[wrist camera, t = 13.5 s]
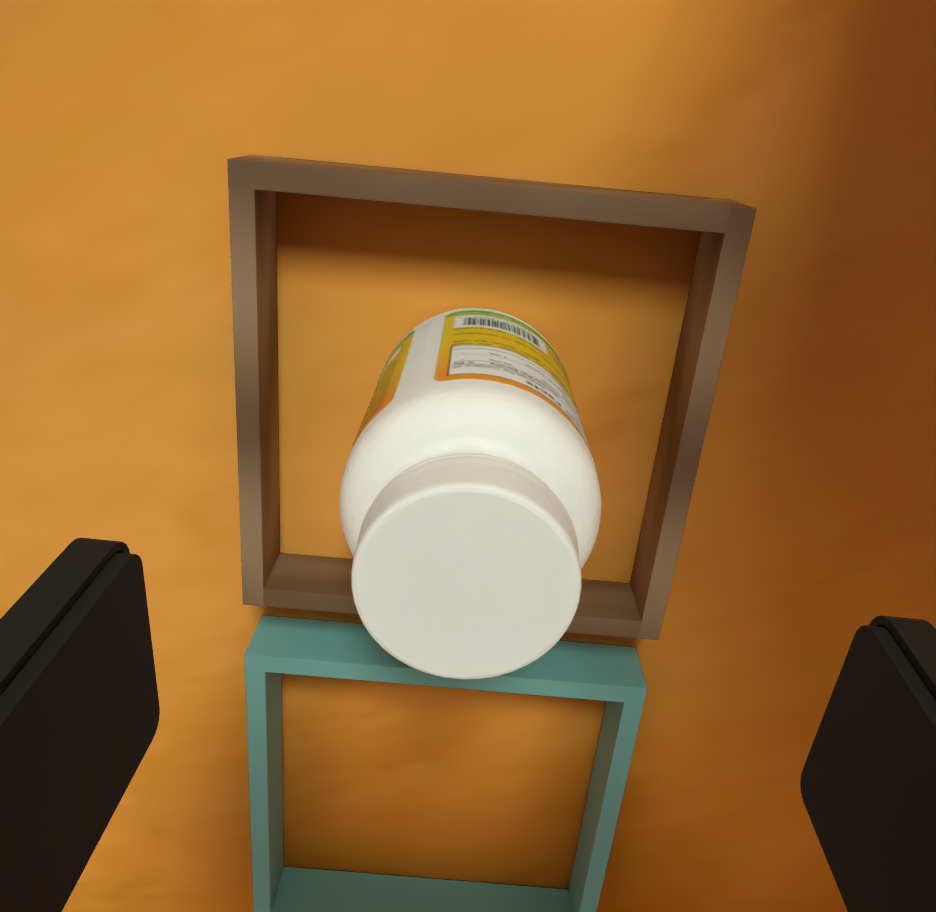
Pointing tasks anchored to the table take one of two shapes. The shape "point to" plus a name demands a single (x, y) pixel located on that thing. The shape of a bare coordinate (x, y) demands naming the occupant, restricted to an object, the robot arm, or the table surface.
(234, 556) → the table surface
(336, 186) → the walnut frame
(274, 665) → the teal frame
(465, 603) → the supplement bottle
